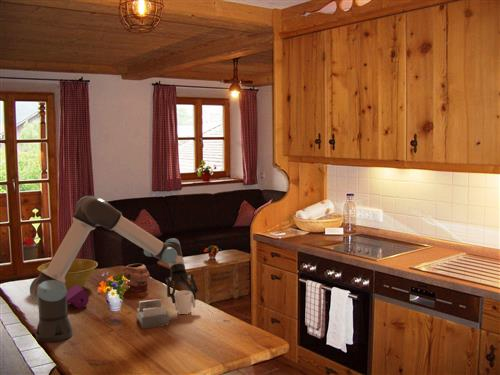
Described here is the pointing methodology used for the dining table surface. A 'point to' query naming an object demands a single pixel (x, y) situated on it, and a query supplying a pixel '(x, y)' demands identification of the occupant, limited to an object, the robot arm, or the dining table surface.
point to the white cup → (184, 301)
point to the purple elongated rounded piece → (77, 297)
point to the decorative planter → (136, 276)
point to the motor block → (152, 314)
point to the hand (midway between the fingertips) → (185, 307)
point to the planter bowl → (76, 272)
